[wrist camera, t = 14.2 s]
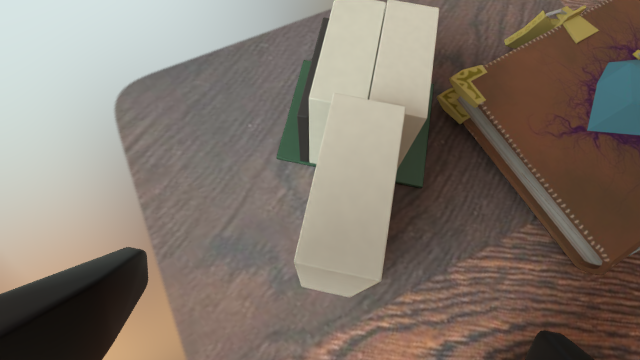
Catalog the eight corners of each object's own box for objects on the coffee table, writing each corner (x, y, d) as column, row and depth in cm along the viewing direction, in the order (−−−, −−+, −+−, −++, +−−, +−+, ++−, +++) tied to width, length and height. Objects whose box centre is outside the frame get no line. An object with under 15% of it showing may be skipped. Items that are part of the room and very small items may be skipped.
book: (793, 115, 27) (896, 77, 23) (567, 285, 22) (639, 282, 18) (638, -26, 31) (698, -84, 27) (418, 90, 26) (443, 44, 22)
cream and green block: (421, 188, 24) (472, 129, 16) (276, 159, 24) (261, 88, 17) (432, 86, 27) (479, -3, 19) (303, 62, 27) (301, -34, 20)
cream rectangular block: (350, 297, 21) (381, 281, 12) (301, 286, 21) (293, 262, 12) (368, 189, 24) (406, 105, 14) (324, 180, 24) (333, 92, 14)
